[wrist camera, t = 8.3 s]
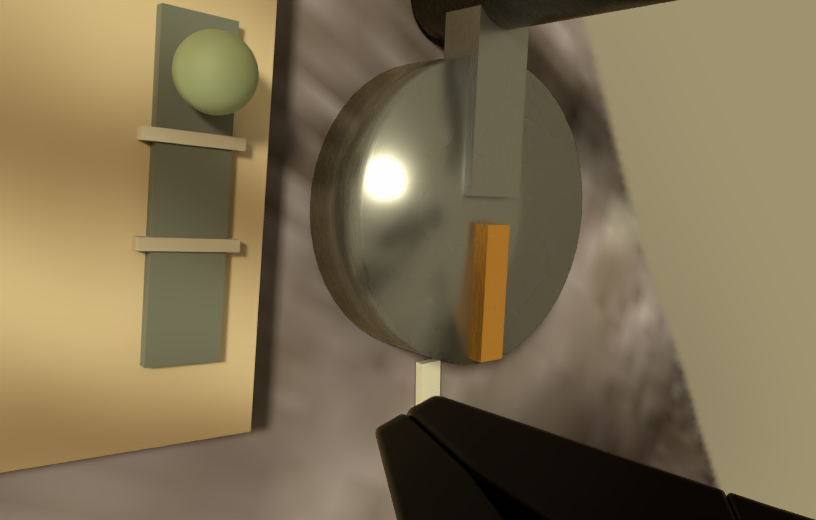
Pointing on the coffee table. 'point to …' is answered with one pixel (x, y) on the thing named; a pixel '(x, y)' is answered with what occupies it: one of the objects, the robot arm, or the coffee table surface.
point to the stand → (129, 222)
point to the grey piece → (454, 187)
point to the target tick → (427, 379)
